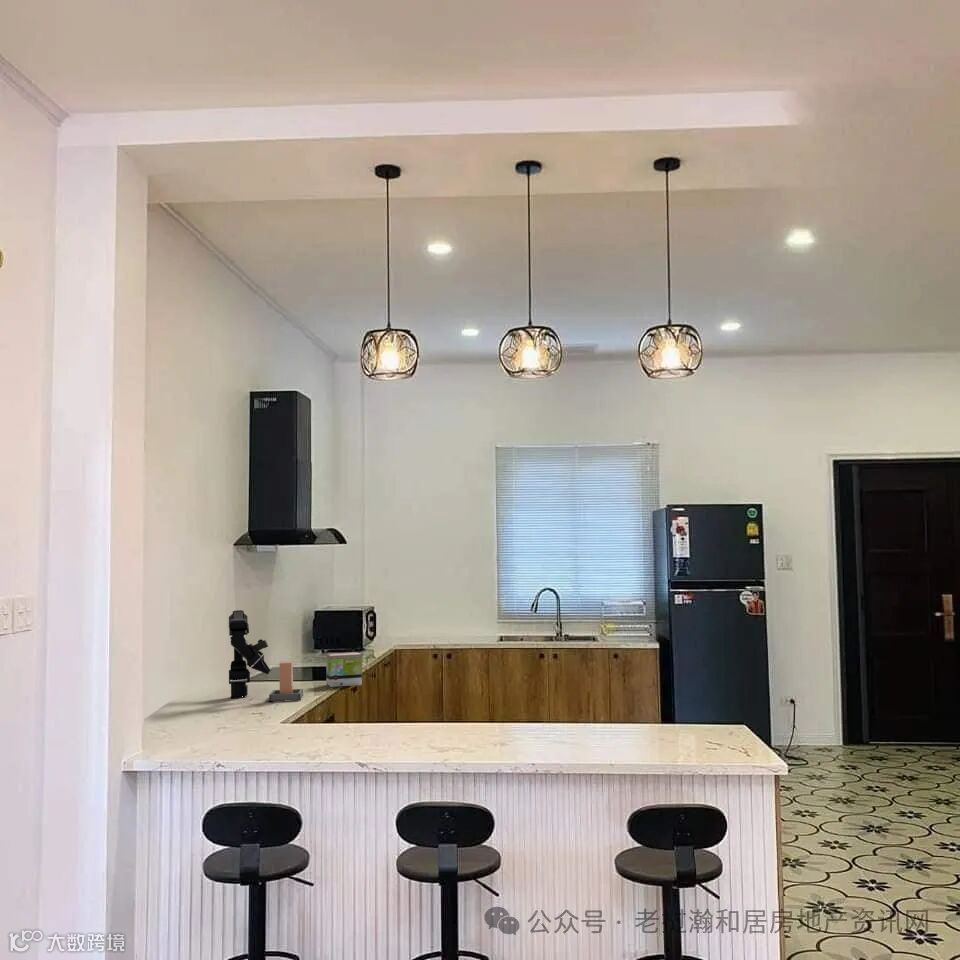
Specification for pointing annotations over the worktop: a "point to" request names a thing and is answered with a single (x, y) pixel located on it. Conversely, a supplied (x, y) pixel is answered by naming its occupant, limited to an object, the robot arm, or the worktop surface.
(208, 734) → the worktop surface
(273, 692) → the tray
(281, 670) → the peach block
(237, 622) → the robot arm
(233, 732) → the worktop surface
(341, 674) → the tea box
